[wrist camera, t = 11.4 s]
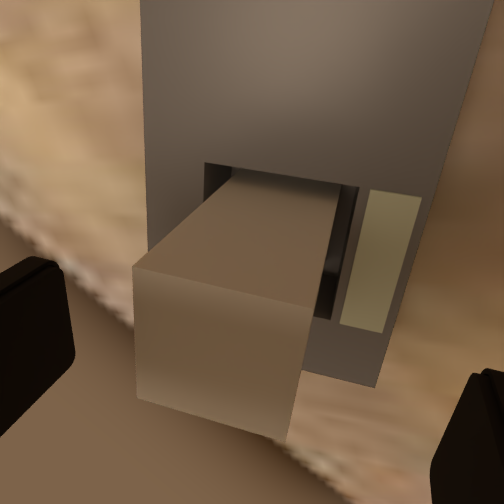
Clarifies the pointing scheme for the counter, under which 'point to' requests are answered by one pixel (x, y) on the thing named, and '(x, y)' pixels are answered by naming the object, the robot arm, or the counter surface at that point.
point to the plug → (234, 301)
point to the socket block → (313, 133)
